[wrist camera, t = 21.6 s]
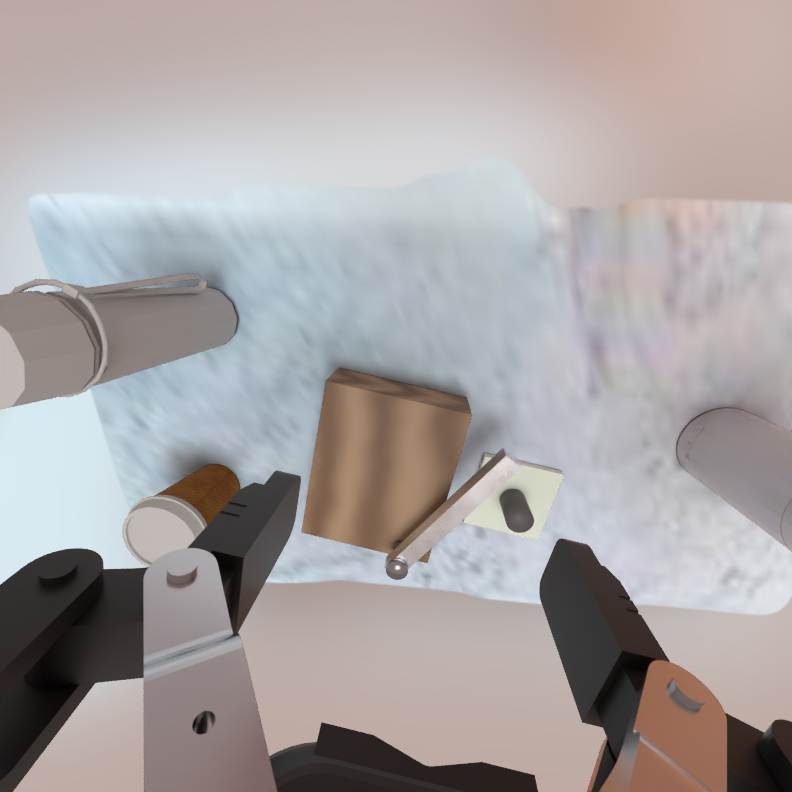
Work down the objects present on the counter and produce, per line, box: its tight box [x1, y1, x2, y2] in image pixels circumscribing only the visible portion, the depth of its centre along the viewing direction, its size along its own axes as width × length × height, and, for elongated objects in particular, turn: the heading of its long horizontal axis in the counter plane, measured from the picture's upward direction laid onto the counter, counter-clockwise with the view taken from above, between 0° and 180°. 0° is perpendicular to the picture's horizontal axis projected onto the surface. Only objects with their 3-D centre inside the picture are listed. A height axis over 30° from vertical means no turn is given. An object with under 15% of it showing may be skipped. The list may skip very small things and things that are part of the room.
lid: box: [463, 453, 564, 540], centre depth 47 cm, size 10×10×6 cm
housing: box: [302, 368, 472, 563], centre depth 45 cm, size 16×20×8 cm
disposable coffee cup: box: [123, 464, 240, 567], centre depth 47 cm, size 10×10×12 cm
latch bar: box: [385, 448, 521, 580], centre depth 40 cm, size 2×19×2 cm, turn 140°
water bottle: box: [0, 274, 237, 409], centre depth 33 cm, size 9×8×25 cm
